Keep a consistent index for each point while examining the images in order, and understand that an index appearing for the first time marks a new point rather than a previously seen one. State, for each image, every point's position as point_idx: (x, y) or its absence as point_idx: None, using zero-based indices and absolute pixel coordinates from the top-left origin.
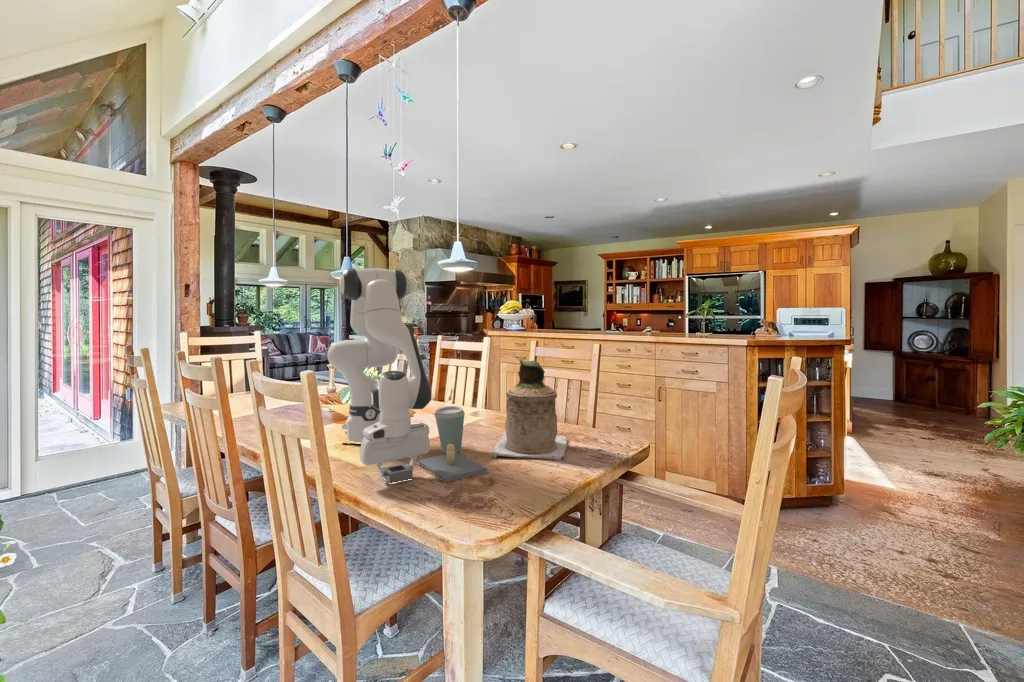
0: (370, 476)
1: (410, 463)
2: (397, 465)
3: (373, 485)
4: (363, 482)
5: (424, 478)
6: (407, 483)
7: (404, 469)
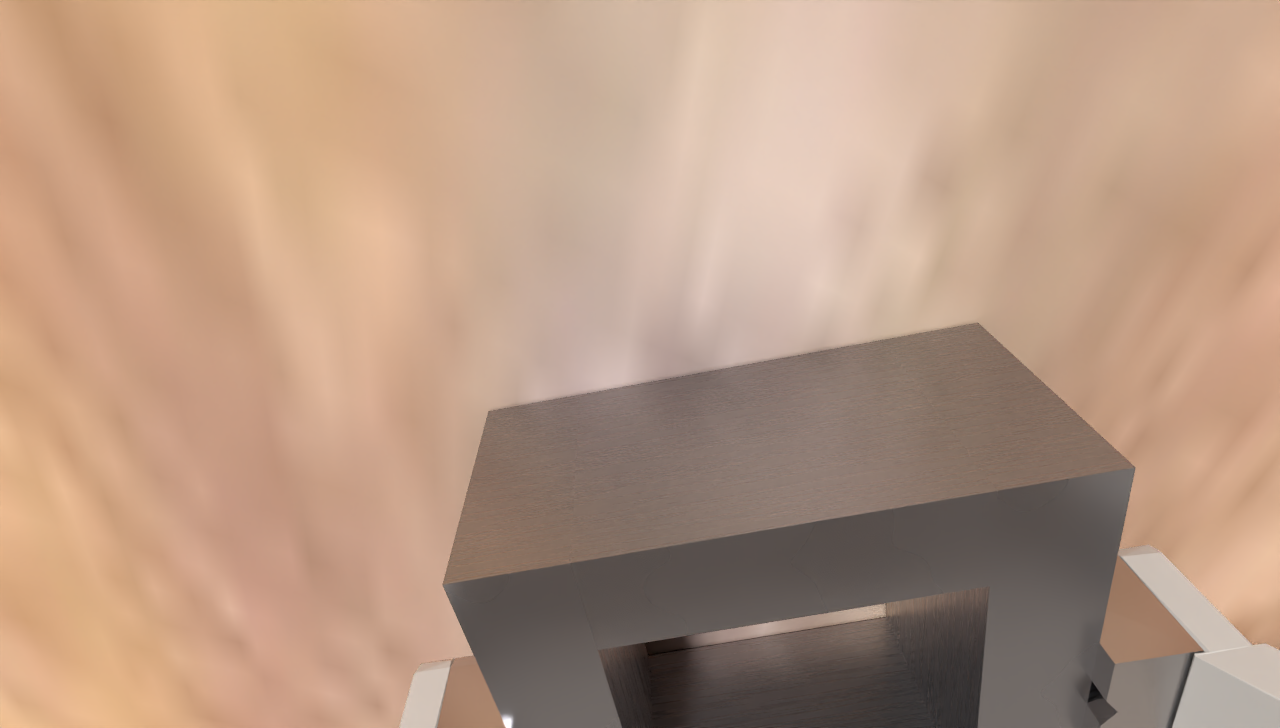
0: (195, 170)
1: (1212, 705)
2: (894, 561)
3: (336, 643)
4: (113, 471)
5: None
6: None
7: (957, 690)
